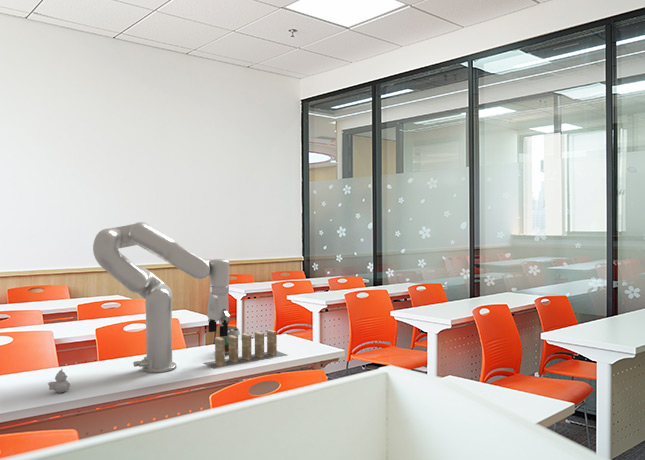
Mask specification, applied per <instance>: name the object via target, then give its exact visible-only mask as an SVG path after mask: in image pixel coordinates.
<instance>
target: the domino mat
mask: <svg viewBox="0 0 645 460" xmlns="http://www.w3.org/2000/svg"><path fill="white" fill-rule="evenodd" d="M285 356H288V354H287V353H284V352H281V351H278V350H277V355H276V356H272V355H269V354H267V351H264V358H259V357H257V356H255V353H254V354H252V353H251V360H246V359H243V358H242V355H241V356H238V362H237V363H234V362H232V361H229V358H225V365H219V364H217V363H215V360H213V361H206V362H203V363H202V364H203V365H205V366H208V367H210V368H212V369H219V368H225V367H229V366H236V365H241V364H242V365H243V364H247V363H254V362H258V361H263V360H268V359H269V360H270V359H275V358H279V357H285Z"/></svg>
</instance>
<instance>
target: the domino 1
mask: <svg viewBox="0 0 645 460" xmlns="http://www.w3.org/2000/svg"><path fill="white" fill-rule="evenodd" d="M214 356H215V358H214V361H215V363H217V364H219V365H225V359H226V357H225V356H226V355H225V339H223V337H220V336H217V337H215V338H214Z"/></svg>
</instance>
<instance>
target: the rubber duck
mask: <svg viewBox="0 0 645 460" xmlns="http://www.w3.org/2000/svg"><path fill="white" fill-rule="evenodd" d="M67 377H68V375H66V373H65V372H64V371H63V368H61V369H60V370H59V371H58V372H57V373H56V375H55V377H54V380H55V381H50V382H48V383H47V384H48V387H49V388H48V390H49V391H54V392H55V393H59V394H62V393H64V392H67V391H68V390H69V389H70V386H71V383H70V381H69V380H67Z"/></svg>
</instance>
